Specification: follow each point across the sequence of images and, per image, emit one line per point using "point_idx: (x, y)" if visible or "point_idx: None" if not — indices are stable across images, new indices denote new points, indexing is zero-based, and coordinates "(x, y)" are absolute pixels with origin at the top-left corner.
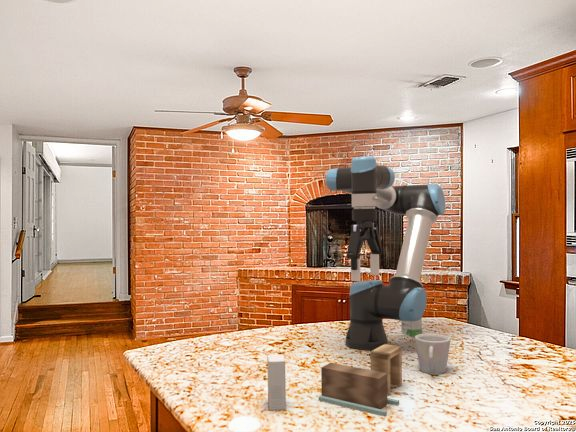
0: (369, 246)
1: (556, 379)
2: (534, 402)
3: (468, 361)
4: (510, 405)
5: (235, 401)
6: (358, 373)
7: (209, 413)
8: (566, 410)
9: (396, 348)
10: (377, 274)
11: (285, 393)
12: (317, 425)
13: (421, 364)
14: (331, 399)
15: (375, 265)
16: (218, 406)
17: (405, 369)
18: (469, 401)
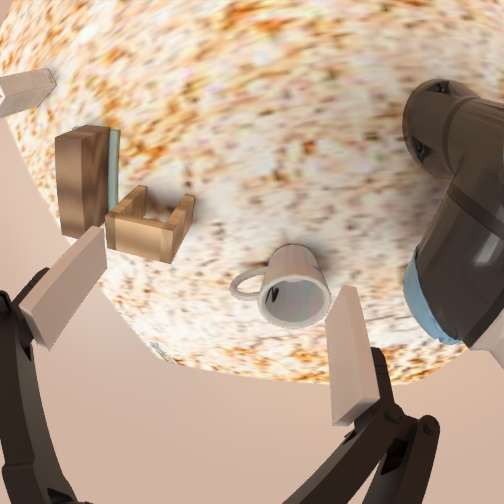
0: (336, 464)
1: (295, 374)
2: (206, 351)
3: None
4: (185, 334)
5: (37, 34)
6: (62, 203)
7: (8, 41)
8: (198, 366)
9: (151, 256)
10: (326, 319)
11: (23, 110)
12: (28, 162)
13: (276, 255)
14: None
15: (336, 352)
16: (22, 32)
17: (283, 220)
18: (173, 303)
